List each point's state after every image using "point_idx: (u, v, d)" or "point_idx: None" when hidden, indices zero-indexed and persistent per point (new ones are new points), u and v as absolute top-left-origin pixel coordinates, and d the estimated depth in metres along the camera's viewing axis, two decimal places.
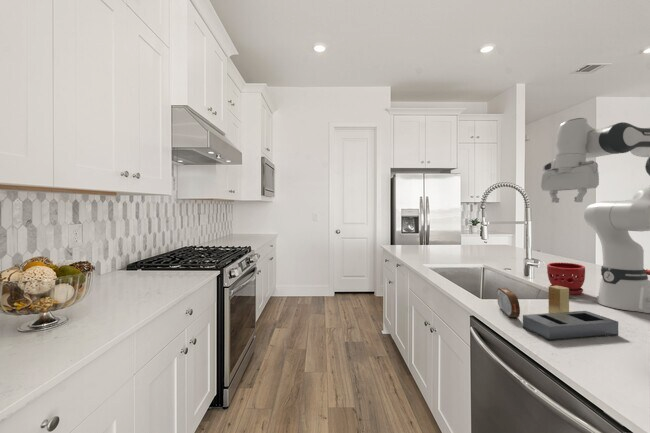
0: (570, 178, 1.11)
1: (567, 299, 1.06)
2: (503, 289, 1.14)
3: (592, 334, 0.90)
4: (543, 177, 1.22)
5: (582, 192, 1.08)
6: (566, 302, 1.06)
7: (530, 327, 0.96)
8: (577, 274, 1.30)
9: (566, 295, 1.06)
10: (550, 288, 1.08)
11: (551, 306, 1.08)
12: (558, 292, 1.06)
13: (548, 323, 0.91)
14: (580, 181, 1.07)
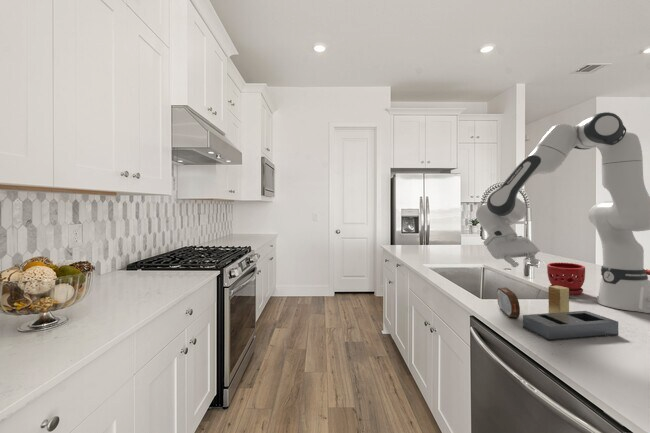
0: (520, 244, 1.24)
1: (567, 299, 1.06)
2: (503, 289, 1.14)
3: (592, 334, 0.90)
4: (496, 242, 1.21)
5: None
6: (566, 302, 1.06)
7: (530, 327, 0.96)
8: (577, 274, 1.30)
9: (566, 295, 1.06)
10: (550, 288, 1.08)
11: (551, 306, 1.08)
12: (558, 292, 1.06)
13: (548, 323, 0.91)
14: (530, 246, 1.24)
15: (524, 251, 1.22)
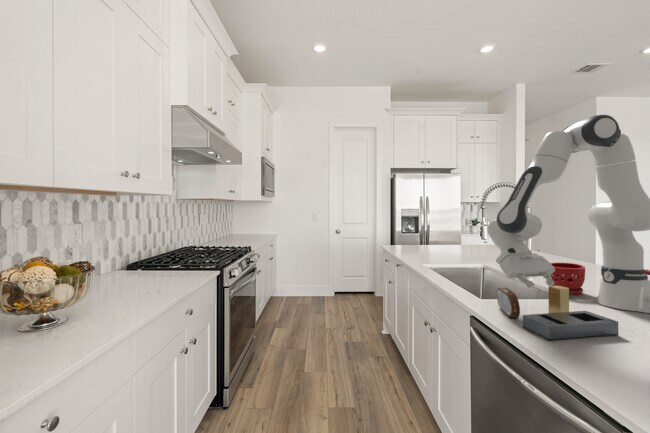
0: (535, 263, 1.17)
1: (567, 299, 1.06)
2: (503, 289, 1.14)
3: (592, 334, 0.90)
4: (510, 260, 1.14)
5: None
6: (566, 302, 1.06)
7: (530, 327, 0.96)
8: (577, 274, 1.30)
9: (566, 295, 1.06)
10: (550, 288, 1.08)
11: (551, 306, 1.08)
12: (558, 292, 1.06)
13: (548, 323, 0.91)
14: (546, 265, 1.17)
15: (540, 270, 1.15)
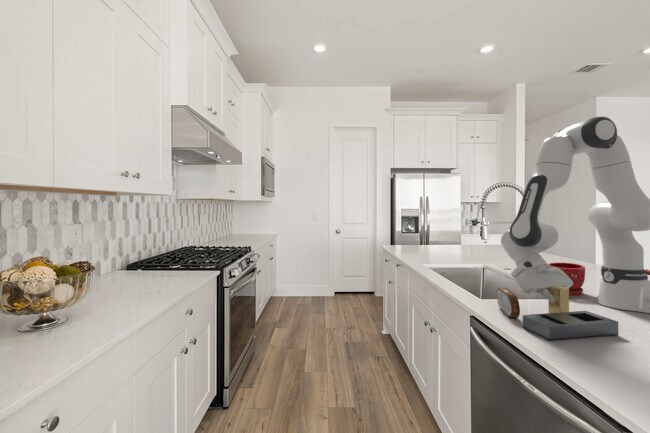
0: (553, 277, 1.12)
1: (567, 299, 1.06)
2: (503, 289, 1.14)
3: (592, 334, 0.90)
4: (526, 275, 1.09)
5: None
6: (566, 302, 1.06)
7: (530, 327, 0.96)
8: (577, 274, 1.30)
9: (566, 295, 1.06)
10: (550, 288, 1.08)
11: (551, 306, 1.08)
12: (558, 292, 1.06)
13: (548, 323, 0.91)
14: (564, 279, 1.12)
15: (558, 285, 1.10)
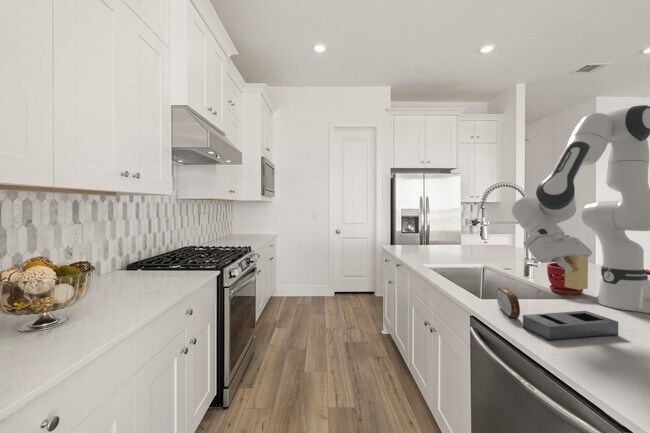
0: (569, 245, 1.02)
1: (586, 268, 0.97)
2: (503, 289, 1.14)
3: (592, 334, 0.90)
4: (541, 242, 1.00)
5: None
6: (585, 271, 0.96)
7: (530, 327, 0.96)
8: None
9: (584, 263, 0.96)
10: (567, 256, 0.99)
11: (568, 276, 0.99)
12: (576, 261, 0.96)
13: (548, 323, 0.91)
14: (582, 248, 1.03)
15: (575, 253, 1.00)
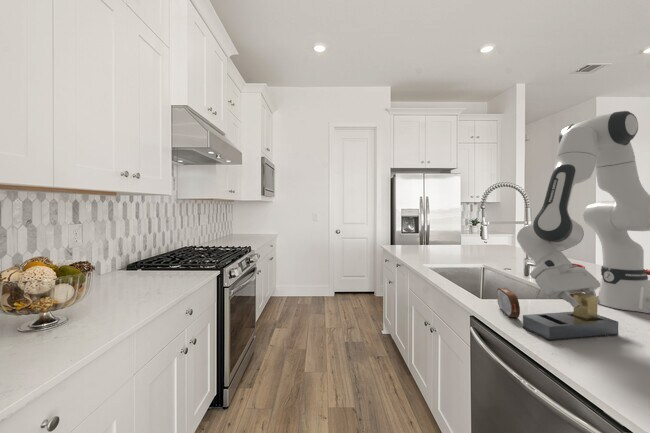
0: (577, 277, 1.00)
1: (595, 309, 0.94)
2: (503, 289, 1.14)
3: (592, 334, 0.90)
4: (548, 275, 0.97)
5: None
6: (595, 312, 0.94)
7: (530, 327, 0.96)
8: None
9: (594, 304, 0.94)
10: (576, 296, 0.96)
11: (576, 317, 0.96)
12: (585, 302, 0.93)
13: (548, 323, 0.91)
14: (590, 280, 1.00)
15: (583, 286, 0.98)
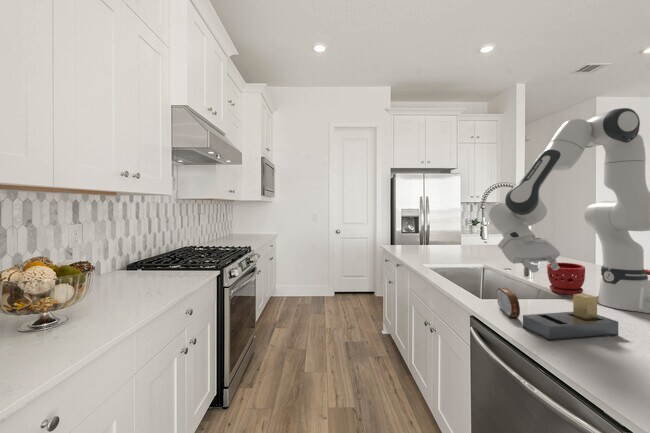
0: (539, 247, 1.12)
1: (595, 309, 0.94)
2: (503, 289, 1.14)
3: (592, 334, 0.90)
4: (513, 245, 1.09)
5: None
6: (594, 312, 0.94)
7: (530, 327, 0.96)
8: (577, 274, 1.30)
9: (593, 304, 0.94)
10: (575, 296, 0.96)
11: (576, 317, 0.96)
12: (585, 302, 0.94)
13: (548, 323, 0.91)
14: (550, 250, 1.12)
15: (544, 255, 1.09)
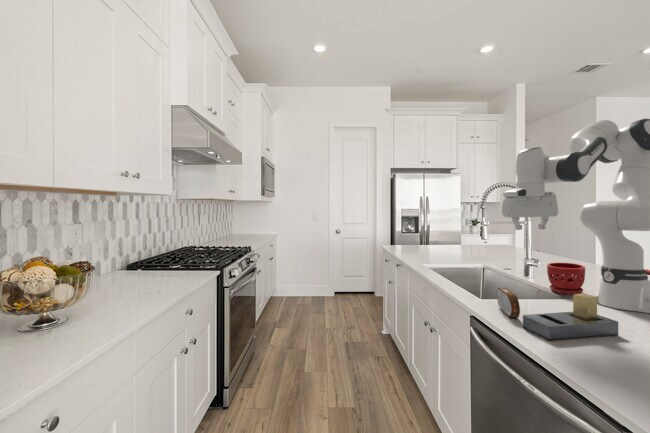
0: (540, 207, 1.15)
1: (595, 309, 0.94)
2: (503, 289, 1.14)
3: (592, 334, 0.90)
4: (513, 203, 1.13)
5: None
6: (594, 312, 0.94)
7: (530, 327, 0.96)
8: (577, 274, 1.30)
9: (593, 304, 0.94)
10: (575, 296, 0.96)
11: (576, 317, 0.96)
12: (585, 302, 0.94)
13: (548, 323, 0.91)
14: (550, 210, 1.16)
15: (539, 215, 1.15)
